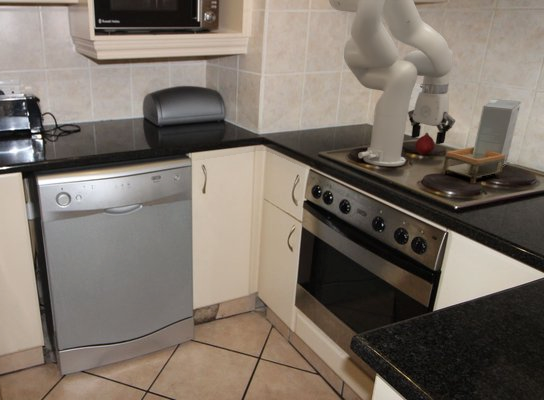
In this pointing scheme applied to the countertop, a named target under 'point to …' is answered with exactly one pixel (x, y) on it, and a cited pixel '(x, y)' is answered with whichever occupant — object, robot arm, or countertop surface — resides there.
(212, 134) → the countertop surface
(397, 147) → the robot arm
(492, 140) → the hard drive box
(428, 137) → the onion
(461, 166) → the rack
